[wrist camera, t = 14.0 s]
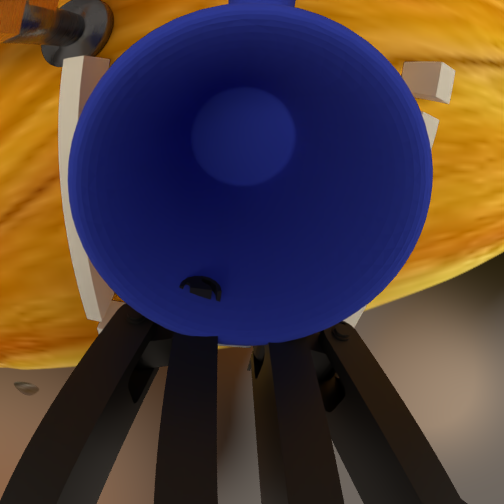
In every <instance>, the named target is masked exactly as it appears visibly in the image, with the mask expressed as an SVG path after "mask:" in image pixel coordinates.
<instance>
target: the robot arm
mask: <svg viewBox="0 0 504 504" xmlns="http://www.w3.org/2000/svg"><path fill="white" fill-rule="evenodd" d="M185 285H188V286H189V287H190V293H192V294H195V295H197V296H200V297H203V298H206V299H210V300H211V296H212V291H213V292H214V294H215V297H216V301H219V302H220V299H221V293H222V290H221V287H220V285H219V284H218V283H217V282H216V281H215V280H213V279H211V278H209V277H205V276H192V277H188V278H186V279H185V280H183V281H182V282H181V284H180V286H179V287H180V288H181V289H183V288H184V286H185ZM218 345H220V346H231V347H244V348H250V347H251V346H236V345H223V344H218V336H188V335H183V334H179V333H176V332H174V331H171V330H169V329H166V328H164V327H162V326H160V325H159V324H157V323H155V322H153V321H151V320H149V319H148V318H146V317H145V316H143V315H142V314H140V313H139V312H137V311H136V310H134V309H133V308H132V307H131V306H129V305H128V304H127V303H126V304H123V305H122V306H121V307H120V308H119V309H118V310H117V311H116V312H115V314H114V315H113V316H112V318H111V319H110V320H109V322H108V323H107V324H106V326H105V327H104V328H103V330H102V331H101V333H100V334H99V335H98V337H97V338H96V339H95V341H94V342H93V344H92V345H91V346H90V348H89V349H88V351H87V352H86V353H85V355H84V356H83V358H82V359H81V361H80V362H79V363H78V365H77V366H76V368H75V369H74V371H73V372H72V374H71V375H70V377H69V378H68V380H67V381H66V383H65V384H64V386H63V388H62V389H61V390H60V392H59V394H58V395H57V397H56V398H55V400H54V402H53V403H52V405H51V406H50V408H49V409H48V411H47V413H46V414H45V416H44V418H43V419H42V421H41V423H40V425H39V426H38V428H37V430H36V431H35V433H34V435H33V437H32V438H31V440H30V442H29V444H28V446H27V447H26V449H25V451H24V453H23V455H22V457H21V459H20V460H19V462H18V464H17V466H16V468H15V470H14V472H13V475H12V476H11V478H10V481H9V483H8V485H7V487H6V489H5V491H4V493H3V496H2V498H1V500H0V504H96V503H97V501H98V499H99V496H100V494H101V492H102V489H103V487H104V485H105V482H106V480H107V478H108V476H109V473H110V471H111V469H112V467H113V464H114V462H115V460H116V458H117V455H118V453H119V451H120V449H121V446H122V445H123V442H124V440H125V438H126V436H127V434H128V432H129V429H130V427H131V425H132V423H133V421H134V419H135V417H136V415H137V413H138V411H139V408H140V406H141V404H142V402H143V400H144V398H145V396H146V394H147V392H148V390H149V388H150V386H151V384H152V381H153V379H154V377H155V376H156V374H157V372H158V370H159V367H162V366H168V371H167V378H166V385H165V392H164V399H163V407H162V415H161V423H160V432H159V442H158V452H157V464H156V476H155V477H156V478H155V493H154V504H218V498H217V497H218V496H217V442H216V441H217V439H216V438H217V435H216V434H217V427H216V426H217V425H216V424H217V419H216V418H217V417H216V416H217V411H216V410H217V409H216V408H217V353H218V352H217V351H218ZM250 369H251V371H252V385H253V399H254V413H255V427H256V440H257V453H258V465H259V479H260V491H261V503H262V504H344V500H343V495H342V490H341V485H340V479H339V474H338V470H337V464H336V459H335V454H334V450H333V445H332V441H333V443H334V445H335V447H336V449H337V451H338V453H339V455H340V457H341V459H342V461H343V463H344V465H345V467H346V469H347V471H348V473H349V475H350V477H351V479H352V481H353V483H354V485H355V487H356V489H357V491H358V493H359V495H360V497H361V499H362V501H363V503H364V504H467V503H466V502H464V501H463V500H462V499H461V498H460V496H459V495H458V493H457V491H456V489H455V487H454V485H453V484H452V482H451V480H450V478H449V477H448V475H447V473H446V471H445V469H444V468H443V466H442V464H441V462H440V461H439V460H438V457H437V456H436V454H435V452H434V451H433V449H432V447H431V446H430V444H429V442H428V441H427V439H426V437H425V436H424V434H423V432H422V431H421V429H420V427H419V426H418V424H417V423H416V421H415V419H414V418H413V416H412V415H411V413H410V411H409V410H408V408H407V407H406V405H405V403H404V402H403V400H402V399H401V397H400V396H399V394H398V393H397V391H396V389H395V388H394V386H393V385H392V384H391V382H390V380H389V379H388V377H387V376H386V374H385V373H384V371H383V370H382V368H381V367H380V365H379V364H378V362H377V361H376V359H375V358H374V356H373V355H372V353H371V352H370V350H369V349H368V347H367V346H366V344H365V343H364V342H363V340H362V339H361V337H360V336H359V334H358V333H357V331H356V330H355V329H354V328H353V327H352V326H351V325H350V324H349V323H347V322H345V321H341V322H339V323H337V324H335V325H333V326H332V327H330V328H327V329H325V330H322V331H320V332H317V333H314V334H312V335H309V336H306V337H303V338H299V339H295V340H291V341H287V342H282V343H272V342H268V344H267V345H257V346H253V352H252V355H251V358H250V361H249V365H248V369H247V370H250ZM331 439H332V440H331Z"/></svg>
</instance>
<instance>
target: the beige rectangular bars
mask: <svg viewBox="0 0 504 504" xmlns="http://www.w3.org/2000/svg"><path fill="white" fill-rule="evenodd" d="M109 63H110V59H105V58H99V57H92V56H85V55H84V56H77V57H71V58H66V59H64V60H63V67H62V76H61V85H60V98H59V120H58V149H59V171H60V185H61V195H62V204H63V212H64V219H65V226H66V232H67V238H68V243H69V249H70V254H71V259H72V263H73V268H74V272H75V276H76V280H77V284H78V288H79V292H80V296H81V299H82V303H83V306H84V310H85V313H86V316H87V319H90V320H95V321H100V322H99V325H98V327H97V330H98V333H99V334H100V333H101V331H102V330H103V328H104V327H105V326H106V324H107V323H108V322H109V320H110V319H111V318H112V316H113V315H114V314H115V312H116V311H117V310H118V309H119V308H120V307H121V306H122V305H123V304H126V303H125V302H119V301H112V298H113V296H114V294H115V293H114V291H113V290H112V289H111V288H110V287H109V286H108V284H107V283H106V282H105V281H104V280H103V278H102V277H101V276H100V275H99V273H98V272H97V270H96V269H95V267H94V266H93V264H92V263H91V261H90V259H89V257H88V256H87V254H86V252H85V250H84V248H83V246H82V243H81V241H80V239H79V236H78V234H77V231H76V228H75V225H74V221H73V218H72V214H71V208H70V203H69V194H68V161H69V154H70V148H71V143H72V139H73V135H74V132H75V128H76V125H77V122H78V120H79V117H80V115H81V113H82V110H83V108H84V106H85V104H86V102H87V100H88V98H89V97H90V95H91V93H92V91H93V90H94V88H95V87H96V85H97V83H98V82H99V80H100V79H101V77H102V76H103V75H104V74H105V73H106V71H107V70H108V69H109ZM454 76H455V70H453V69H452V68H451V67H449V66H448V65H446V64H445V63H443V62H404V66H403V72H402V78H403V80H404V81H405V83H406V84H407V86H408V87H409V89H410V91H411V93H412V95H413V97H415V98H421V99H427V100H432V101H437V102H442V103H446V104H449V102H450V98H451V93H452V87H453V82H454ZM421 114H422V116H423V119H424V122H425V125H426V129H427V133H428V137H429V141H430V147H431V149H432V146H433V142H434V139H435V135H436V131H437V127H438V123H439V120H438V119H436V118H434V117H433V116H431V115H429V114H427V113H425V112H422V111H421ZM366 306H367V305H365V306H364V307H363V308H361V309H360V310H359V311H357V312H356V313H354V314H353V315H351V316H350V317H348V318H347V319H345V320H343V321H345V322H347V323H349V324H350V325H351V326H352V327H353V328H354V327H355V325H356V324H357V322H358V320H359V318H360V316H361V315H362V313H363V311H364V309H365V307H366Z"/></svg>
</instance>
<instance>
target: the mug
mask: <svg viewBox="0 0 504 504" xmlns="http://www.w3.org/2000/svg"><path fill="white" fill-rule="evenodd" d="M294 6H295V0H229V3H228V4H226V5H221V6H216V7H211V8H206V9H202V10H199V11H196V12H193V13H190V14H187V15H184V16H182V17H179V18H176V19H174V20H172V21H170V22H168V23H166V24H164V25H162V26H161V27H159V28H157V29H155V30H153V31H152V32H150V33H149V34H147V35H146V36H144V37H143V38H142V39H140V40H139V41H137V42H136V43H135V44H133V45H132V46H131V47H130V48H129V49H128V50H127V51H125V52H124V53H123V54H122V55H121V56H120V57H119V58H118V59H117V60H116V61H115V62H114V63H113V64H112V66H111V67H110V68H109V69H108V70H107V71H106V73H105V74H104V75H103V76H102V77H101V79H100V80H99V82H98V83H97V85H96V87H95V88H94V90H93V91H92V93H91V95H90V97H89V98H88V100H87V102H86V104H85V106H84V108H83V110H82V113H81V115H80V117H79V120H78V122H77V125H76V128H75V132H74V135H73V139H72V143H71V148H70V154H69V161H68V194H69V203H70V208H71V214H72V218H73V221H74V225H75V228H76V231H77V234H78V236H79V239H80V241H81V243H82V246H83V248H84V250H85V252H86V254H87V256H88V257H89V259H90V261H91V263H92V264H93V266H94V267H95V269H96V270H97V272H98V273H99V275H100V276H101V277H102V278H103V280H104V281H105V282H106V283H107V284H108V286H109V287H110V288H111V289H112V290H113V291H114V292H115V293H116V294H117V295H118V296H119V297H120V298H121V299H122V300H123V301H124V302H125V303H127V304H128V305H129V306H131V307H132V308H133V309H134V310H136V311H137V312H139V313H140V314H142V315H143V316H145V317H146V318H148V319H149V320H151V321H153V322H155V323H157V324H159V325H160V326H162V327H164V328H166V329H169V330H171V331H174V332H176V333H179V334H183V335H188V336H218V344H223V345H236V346H257V345H267V344H268V342H272V343H282V342H287V341H291V340H295V339H299V338H303V337H306V336H309V335H312V334H314V333H317V332H320V331H322V330H325V329H327V328H330V327H332V326H333V325H335V324H337V323H339V322H341V321H343V320H345V319H347V318H348V317H350V316H351V315H353V314H354V313H356V312H357V311H359V310H360V309H361V308H363V307H364V306H365V305H367V304H368V303H369V302H371V301H372V300H373V299H374V298H375V297H376V296H377V295H378V294H379V293H381V292H382V291H383V290H384V289H385V287H386V286H387V285H388V284H389V283H390V282H391V281H392V280H393V279H394V277H395V276H396V275H397V274H398V272H399V271H400V270H401V268H402V267H403V265H404V264H405V263H406V261H407V259H408V258H409V256H410V254H411V252H412V251H413V249H414V247H415V245H416V243H417V241H418V239H419V236H420V234H421V231H422V229H423V226H424V223H425V220H426V216H427V212H428V208H429V204H430V198H431V191H432V179H433V166H432V154H431V147H430V141H429V137H428V133H427V129H426V125H425V122H424V119H423V116H422V114H421V111H420V109H419V106H418V104H417V102H416V100H415V98H414V97H413V95H412V93H411V91H410V89H409V87H408V86H407V84H406V83H405V81H404V80H403V78H402V77H401V76H400V74H399V73H398V72H397V70H396V69H395V68H394V67H393V66H392V64H391V63H390V62H389V61H388V60H387V59H386V58H385V57H384V56H383V55H382V54H381V53H380V52H379V51H378V50H377V49H376V48H374V47H373V46H372V45H371V44H370V43H369V42H367V41H366V40H365V39H363V38H362V37H360V36H359V35H357V34H356V33H354V32H353V31H351V30H350V29H348V28H346V27H345V26H343V25H341V24H339V23H337V22H335V21H333V20H331V19H328V18H326V17H324V16H322V15H319V14H316V13H313V12H310V11H306V10H303V9H300V8H295V7H294ZM192 276H205V277H209V278H211V279H213V280H215V281H216V282H217V283H218V284H219V285H220V287H221V290H222V293H221V299H220V302H219V301H216V297H215V294H214V292H213V291H212V296H211V300H210V299H206V298H203V297H200V296H197V295H195V294H192V293H190V287H189V286H188V285H185V286H184V288H183V289H181V288H180V287H179V286H180V284H181V282H182V281H183V280H185V279H186V278H188V277H192Z"/></svg>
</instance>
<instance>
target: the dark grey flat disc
mask: <svg viewBox="0 0 504 504" xmlns="http://www.w3.org/2000/svg"><path fill="white" fill-rule="evenodd" d="M60 9H64V10H67V11H70V12H73V13H76V14H79V15H81V16H82V17H83V18H84V21H85V26H84V30H83V32H82V34H81V36H80V37H79V38H78V40H77V41H76V42H74V43H73V44H71V45H69V46H66V47H61V46H52V45H41V48H42V53H43V56H44V58H45V60H46V61H47V62H48V63H49V64H51V65H53V66H56V67H63V60H64V59H66V58H71V57H77V56H84V55H85V56H92V57H95V56H96V55H97V54H98V53H99V52H100V51H101V50H102V48H103V47H104V46H105V44H106V42H107V41H108V39H109V37H110V34H111V32H112V28H113V14H112V11H111V9H110V7H109V6H108V5H107V4H106V3H104V2H102V1H100V0H71V1H69V2H68V3H66V4H65V5H63V6H62V7H61V8H60Z"/></svg>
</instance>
